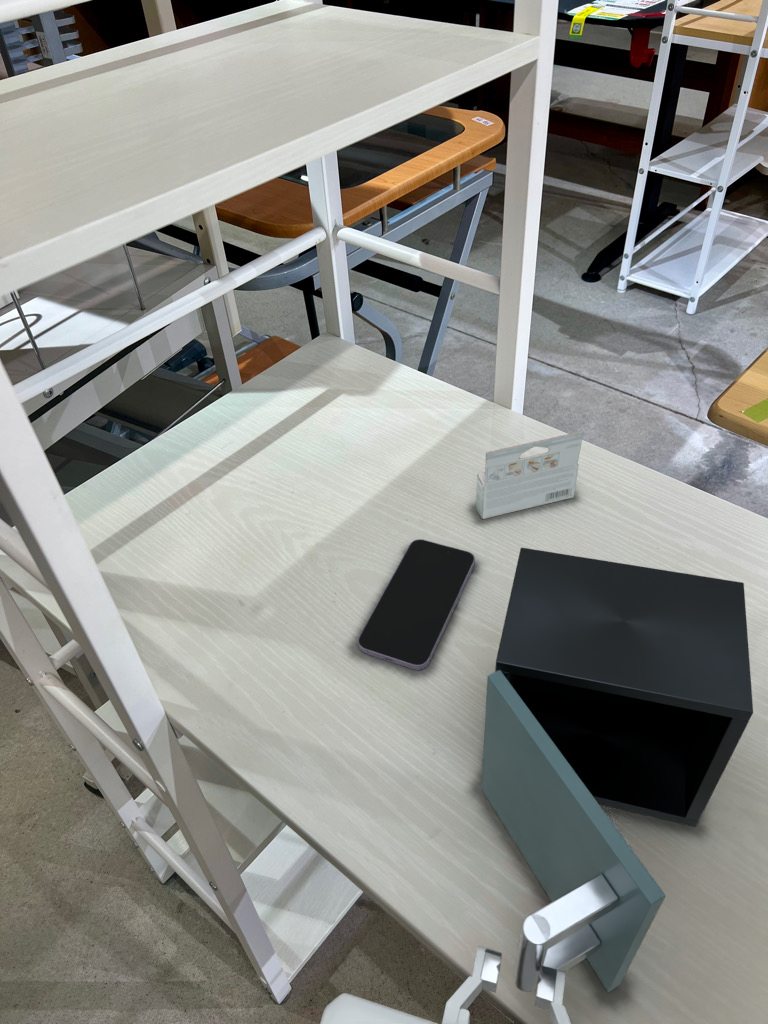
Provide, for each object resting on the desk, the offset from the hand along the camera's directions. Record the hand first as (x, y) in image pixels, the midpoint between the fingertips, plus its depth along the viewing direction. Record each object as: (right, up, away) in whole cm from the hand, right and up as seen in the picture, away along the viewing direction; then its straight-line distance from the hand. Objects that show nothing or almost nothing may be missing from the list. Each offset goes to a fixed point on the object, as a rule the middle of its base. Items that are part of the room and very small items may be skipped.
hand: (520, 961), depth 44 cm
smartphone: (-4, +17, +31) cm, 36 cm away
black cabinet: (+10, +7, +19) cm, 22 cm away
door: (+1, -1, +10) cm, 10 cm away
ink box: (+8, +27, +41) cm, 50 cm away
